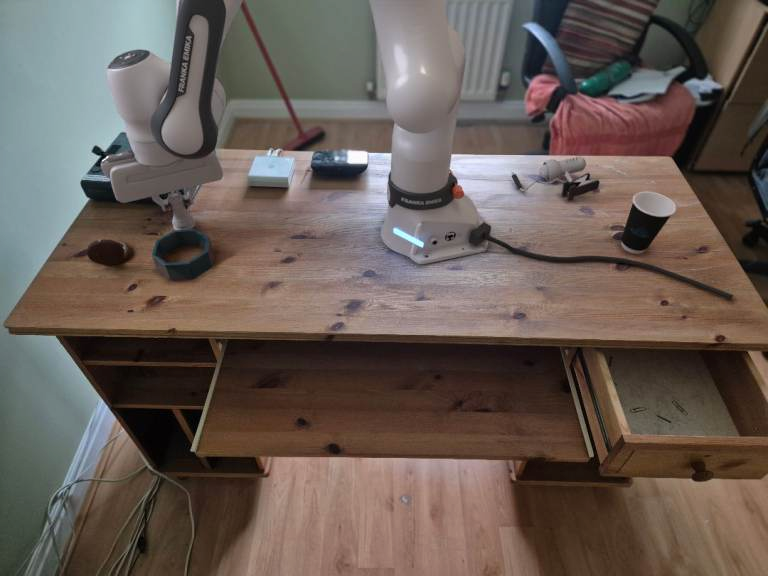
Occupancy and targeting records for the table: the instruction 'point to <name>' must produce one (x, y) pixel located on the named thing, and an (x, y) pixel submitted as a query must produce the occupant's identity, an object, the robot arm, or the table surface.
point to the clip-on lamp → (566, 167)
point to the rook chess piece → (180, 212)
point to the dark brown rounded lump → (108, 252)
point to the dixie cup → (646, 220)
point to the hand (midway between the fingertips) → (178, 206)
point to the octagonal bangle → (183, 268)
